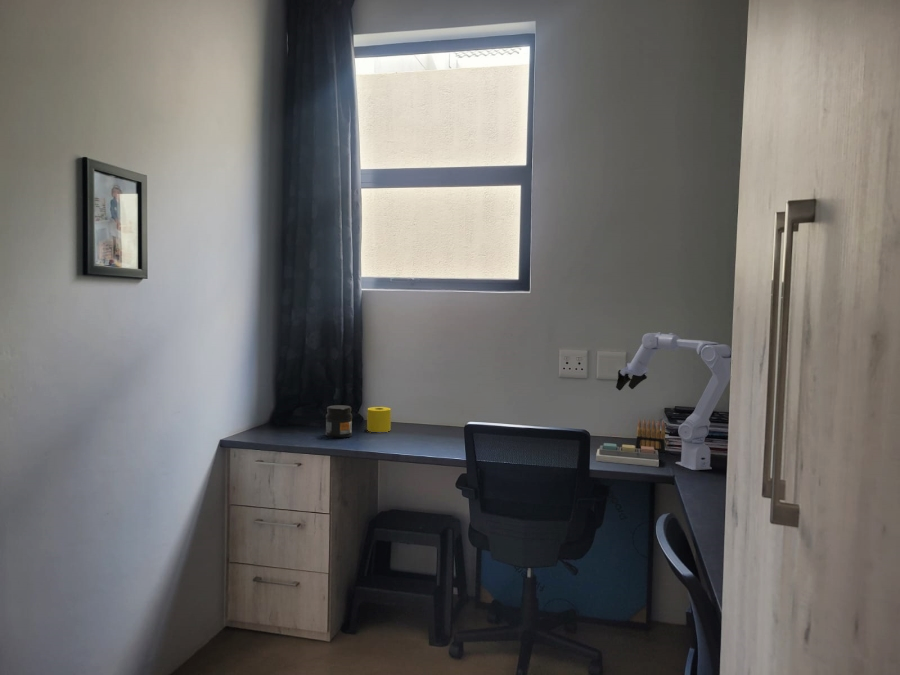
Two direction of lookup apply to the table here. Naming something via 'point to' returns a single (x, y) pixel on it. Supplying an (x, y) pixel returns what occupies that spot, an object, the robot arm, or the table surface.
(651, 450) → the terracotta key
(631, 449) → the ochre key
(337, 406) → the supplement container
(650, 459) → the button pad
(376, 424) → the tape roll
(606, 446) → the teal key
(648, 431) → the ammunition clip
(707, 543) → the table surface
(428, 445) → the table surface
